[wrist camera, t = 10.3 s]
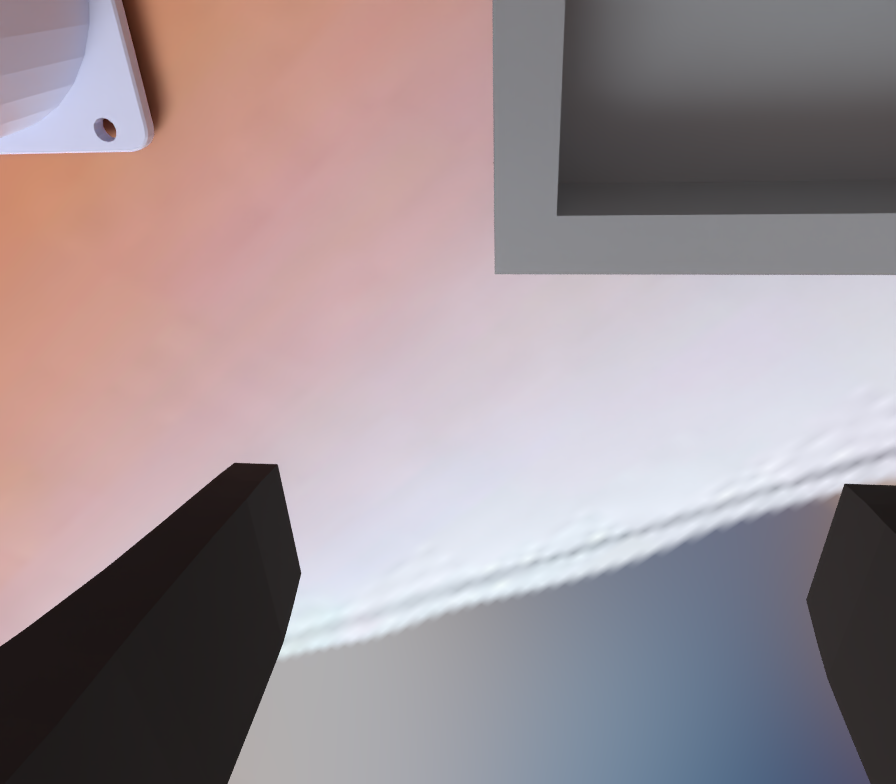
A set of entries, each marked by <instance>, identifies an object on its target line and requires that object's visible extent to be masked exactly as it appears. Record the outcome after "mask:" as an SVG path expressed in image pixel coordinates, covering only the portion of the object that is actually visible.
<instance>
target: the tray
mask: <svg viewBox="0 0 896 784" xmlns="http://www.w3.org/2000/svg"><path fill="white" fill-rule="evenodd" d="M493 113H494V236H495V274H705V275H896V0H493Z"/></svg>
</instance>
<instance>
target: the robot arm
mask: <svg viewBox="0 0 896 784" xmlns="http://www.w3.org/2000/svg"><path fill="white" fill-rule="evenodd" d="M104 118H105V119H108V120H109V121H110V122H112V123H113V125H114V126H115V128H116V138H114V137H111V136H110V135H109V134H107V133H106V131H105V129H104V127H103V120H104ZM153 137H154V126H153V122H152V118H151V114H150V110H149V106H148V102H147V98H146V94H145V90H144V86H143V82H142V78H141V74H140V70H139V66H138V62H137V58H136V54H135V50H134V46H133V42H132V39H131V35H130V31H129V27H128V23H127V19H126V15H125V11H124V7H123V3H122V0H0V154H38V153H89V152H134V151H138V150H141V149H143V148H145V147H147V146H148V145H149V144H150V143H151V142H152V139H153ZM300 576H301V570H300V566H299V561H298V556H297V552H296V547H295V542H294V538H293V533H292V529H291V524H290V519H289V515H288V510H287V505H286V501H285V496H284V492H283V487H282V482H281V478H280V473H279V468H278V464H250V463H234V464H232V465H231V466H230V467H229V468H227V469H226V470H225V471H223V472H222V473H221V474H220V475H218V476H217V477H216V478H215V479H213V480H212V481H211V482H210V483H209V484H207V485H206V486H205V487H204V488H202V489H201V490H200V491H199V492H198V493H197V494H195V495H194V496H193V497H192V498H191V499H189V500H188V501H187V502H186V503H185V504H183V505H182V506H181V507H180V508H179V509H177V510H176V511H175V512H174V513H173V514H171V515H170V516H169V517H168V518H167V519H165V520H164V521H163V522H162V523H161V524H159V525H158V526H157V527H156V528H155V529H153V530H152V531H151V532H150V533H148V534H147V535H146V536H145V537H144V538H142V539H141V540H140V541H139V542H137V543H136V544H135V545H134V546H133V547H131V548H130V549H129V550H128V551H126V552H125V553H124V554H123V555H122V556H120V557H119V558H118V559H117V560H115V561H114V562H113V563H112V564H111V565H109V566H108V567H107V568H105V569H104V570H103V571H102V572H100V573H99V574H98V575H96V576H95V577H94V578H92V579H91V580H90V581H88V582H87V583H86V584H84V585H83V586H82V587H80V588H79V589H78V590H76V591H75V592H74V593H72V594H71V595H70V596H68V597H67V598H66V599H65V600H63V601H62V602H61V603H59V604H58V605H57V606H55V607H54V608H53V609H51V610H50V611H49V612H47V613H46V614H45V615H43V616H42V617H41V618H39V619H38V620H37V621H35V622H34V623H33V624H31V625H30V626H29V627H27V628H26V629H25V630H23V631H22V632H20V633H19V634H18V635H16V636H15V637H13V638H12V639H10V640H9V641H8V642H6V643H5V644H3V645H2V646H0V784H228V781H229V779H230V776H231V774H232V771H233V769H234V766H235V764H236V761H237V758H238V756H239V754H240V751H241V749H242V746H243V744H244V741H245V739H246V736H247V734H248V731H249V729H250V726H251V724H252V721H253V719H254V716H255V714H256V711H257V709H258V706H259V704H260V701H261V699H262V696H263V694H264V691H265V688H266V686H267V683H268V681H269V678H270V676H271V673H272V671H273V668H274V665H275V663H276V660H277V658H278V655H279V652H280V650H281V647H282V645H283V642H284V638H285V634H286V631H287V627H288V623H289V620H290V616H291V612H292V609H293V604H294V600H295V596H296V592H297V588H298V584H299V580H300ZM806 600H807V604H808V608H809V612H810V616H811V620H812V624H813V627H814V632H815V636H816V639H817V643H818V647H819V650H820V654H821V657H822V661H823V664H824V668H825V671H826V675H827V678H828V680H829V683H830V686H831V688H832V691H833V693H834V696H835V698H836V701H837V703H838V706H839V708H840V710H841V713H842V715H843V718H844V720H845V723H846V725H847V728H848V730H849V733H850V735H851V737H852V740H853V742H854V745H855V747H856V749H857V752H858V754H859V757H860V759H861V761H862V764H863V766H864V769H865V771H866V773H867V776H868V778H869V780H870V783H871V784H896V486H892V485H863V484H844V487H843V490H842V493H841V496H840V500H839V503H838V506H837V508H836V511H835V515H834V518H833V521H832V524H831V527H830V530H829V533H828V536H827V539H826V542H825V545H824V548H823V551H822V554H821V557H820V560H819V563H818V566H817V569H816V572H815V575H814V579H813V581H812V584H811V587H810V591H809V593H808V597H807V599H806Z"/></svg>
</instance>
